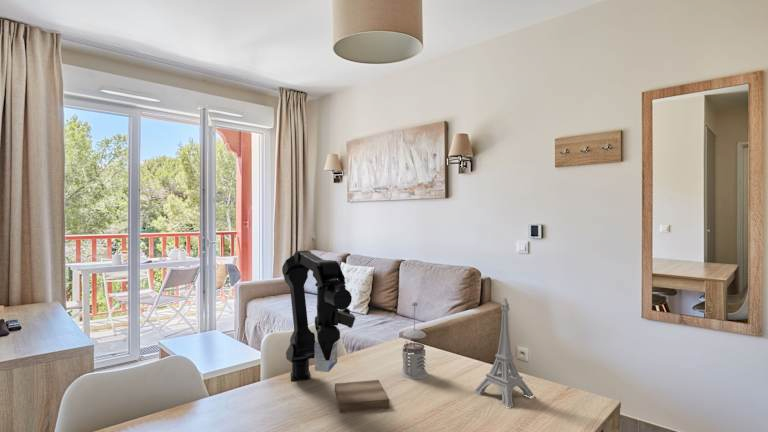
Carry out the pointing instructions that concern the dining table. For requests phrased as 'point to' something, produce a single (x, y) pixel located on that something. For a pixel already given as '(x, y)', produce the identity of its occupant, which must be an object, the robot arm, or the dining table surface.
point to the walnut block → (361, 396)
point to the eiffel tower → (504, 366)
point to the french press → (417, 358)
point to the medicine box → (320, 359)
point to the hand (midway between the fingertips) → (326, 355)
